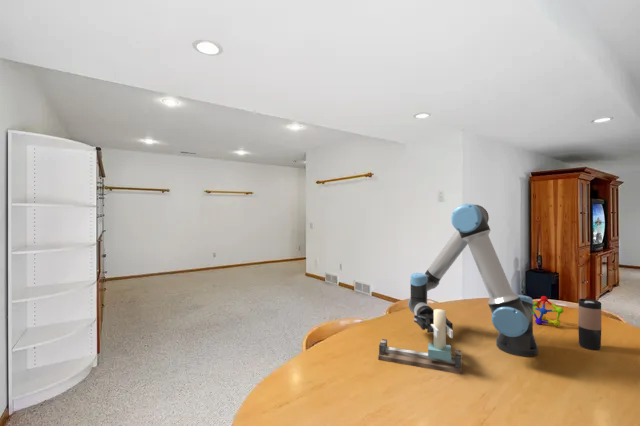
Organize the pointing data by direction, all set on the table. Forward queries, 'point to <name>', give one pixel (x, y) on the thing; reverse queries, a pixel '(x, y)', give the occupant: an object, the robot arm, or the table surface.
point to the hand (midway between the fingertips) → (444, 334)
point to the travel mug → (589, 324)
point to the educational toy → (544, 311)
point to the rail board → (419, 358)
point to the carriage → (440, 338)
